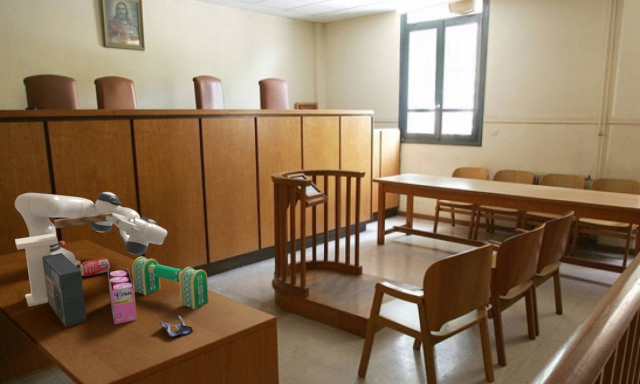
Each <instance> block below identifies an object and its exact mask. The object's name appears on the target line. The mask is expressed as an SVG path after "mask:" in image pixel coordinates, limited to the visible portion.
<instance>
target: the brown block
mask: <svg viewBox="0 0 640 384" xmlns="http://www.w3.org/2000/svg"><path fill="white" fill-rule="evenodd" d="M106 216H110V217H112V213H102V214H95V215H88V216H80V217H73V218H66V217H64V218H59V219H53V220H54V226H55V229H61V228H67V227H74V226H80V225H82V226H83V225H88V224H89V225H90V223H97V222H103V221H108V220H106V219H105V217H106Z"/></svg>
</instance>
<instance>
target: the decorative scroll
mask: <svg viewBox="0 0 640 384" xmlns="http://www.w3.org/2000/svg"><path fill="white" fill-rule="evenodd" d="M131 267H132V268H131V272H132V274H131V275H132V283H133V286H134V293H138V294H142V295H143V296H147V295H149V294H151V293H154V292H156V291H159V290H161V289H162V288H161V287H162V286H161V279H165V280H168V281H169V280H170V281H172V282H173V281H174V282H179V295H180V306H181V307H183V306H185V307H189V308H192V310H195V309H197V308H199V307H201V306H203V305H204V304H207V303H208V302H209V301H210V299H209V297H210V296H209V283H208V274H207V272H206V270H204V269H194V268H193V267H191V266H187V267H185V268H184V269H181V268H178V267H177V268H176V267H172V266H171V267H170V266H166V265H163V264H159V262H158V261H157V259H154V258H149V259H148V258H147V257H145V256H141V255H140V256H138V257H136V258H135V259H134V260H133V262H132V265H131ZM209 303H210V302H209Z"/></svg>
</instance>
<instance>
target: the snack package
mask: <svg viewBox="0 0 640 384" xmlns="http://www.w3.org/2000/svg"><path fill="white" fill-rule="evenodd" d="M176 317H177V320H179V323H180V324H173V326H174V327H175V328H176V329H177V333H176V332H173V331H171V326H172V323H169V322H164V321H162V320H161V319H158V322H159V324H160V325H161V327H162V328H163V329H164V330H165V331H166V333H167V334H168V336H169V337H170V338H171V339H173V338H174V337H176V336H179V335H180V336H185V335H189V334H191V333H192V332H194V329H193V327H192V326H189V325H186V324H185V320H184V319H183V318H182V316H181V315H180V314H177V316H176Z"/></svg>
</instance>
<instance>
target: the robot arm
mask: <svg viewBox="0 0 640 384" xmlns="http://www.w3.org/2000/svg"><path fill="white" fill-rule="evenodd" d="M121 205H122V201H120V199H119V197H118V195H116V194H114V193H113V192H109V191H105V192H104V191H103V192H100V193H98V195H97V198H96V201H95V203H94V202H93V201H92V200H90V199H88V198H84V197H78V196H70V195H61V194H60V195H59V194H51V193H50V194H48V193H39V192H26V193H23V194H22V193H21V194H20V195H18V196H17V197H16V199H15V201H14V208H15V209H16V210H17V212H19V214H20V215H21V216H22V218H23V220H24V222H25V225H26V227H27V230H28V234H29V235H28V237H34V236H40V235H47V234H55V236H56V237H57V230H56V229H57V228H56V227H55V223H53V222H52V221H51V220H50V218H73V217H80V216H88V215H95V214H102V213H112V217H110V216H106V217H105V219H106V220H108V221H103V222H97V223H90V224H89V227H90V228H91V229H92V230H93V231H95V232H98V233H109V232H110V231H111V229H112V228H113V225H115V226H116V227H117V228H118V229H119V237H120V239H121V241H122V243H123V244H124V248H125V250H126V251H127V252H128V253H129V254H131V255H133V256H141V255H144V254H146V252H147V249H148V246H149V244H150V243H151V244H155V245H159V246H161V245H162V244H164V242H165V241H166V239H167V235H168V231H167V229H165V228H163V227H162V226H159V225H158V223H157V221H156V220H154V219H150V218H148V217H146V216H142V217H141V216H140V214H139V212H137V211H136V210H134V209H132V208H130V207H125V206H124V207H123V206H121ZM49 245H50V253H51V255H53V254H59V253H62V254H63V255H64V256H65V257H67V258H68V259H69V260H70V261H71V262H72V263H73V264H74V265H75V266H76V267H77V266H80V264H82V263H81V260H78V259H76V257H75V255H74V253H73V252H72V251H70V250H67V249H66V248H64V247H62V246H64V245H66V242H65V241H64V240H60V241H59V240H58V243H56V244H49Z"/></svg>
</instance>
